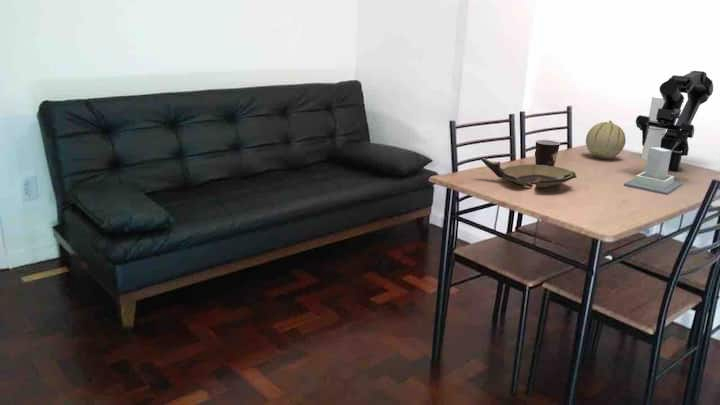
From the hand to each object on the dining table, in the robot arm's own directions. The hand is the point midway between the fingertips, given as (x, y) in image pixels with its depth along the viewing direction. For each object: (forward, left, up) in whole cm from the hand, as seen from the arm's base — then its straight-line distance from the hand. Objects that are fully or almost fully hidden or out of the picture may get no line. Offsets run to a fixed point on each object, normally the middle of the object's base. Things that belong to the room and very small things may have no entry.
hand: (656, 148), depth 215 cm
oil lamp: (+41, -27, -11) cm, 50 cm away
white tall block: (-33, -10, -11) cm, 37 cm away
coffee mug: (+19, -33, -11) cm, 40 cm away
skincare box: (+9, +4, -11) cm, 14 cm away
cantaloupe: (-18, -24, -11) cm, 32 cm away
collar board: (+9, +4, -11) cm, 15 cm away
